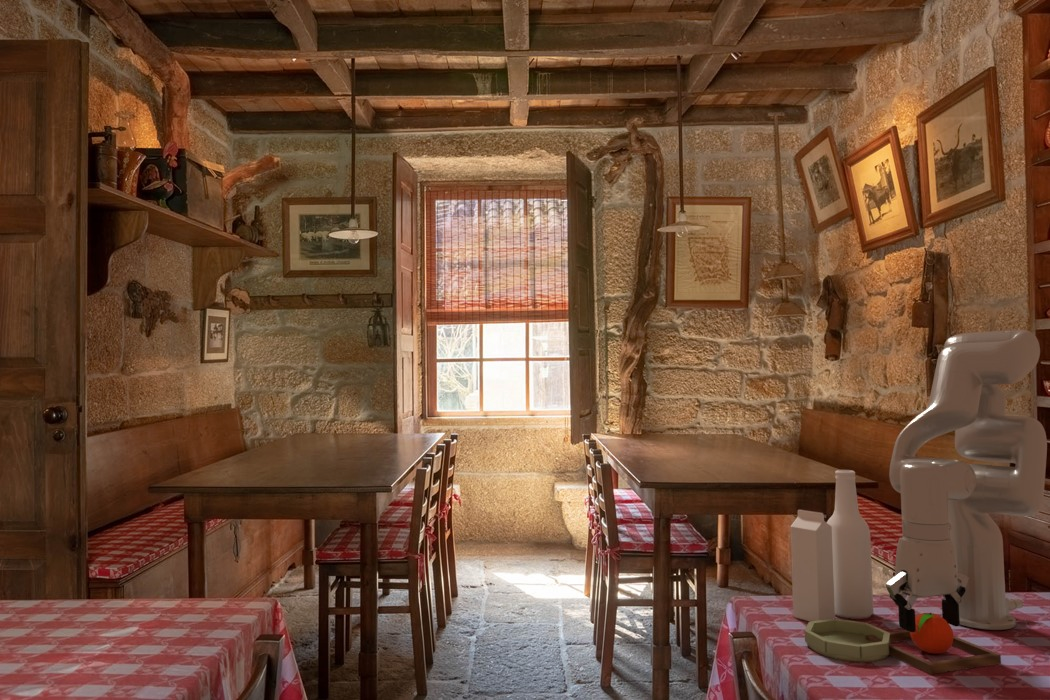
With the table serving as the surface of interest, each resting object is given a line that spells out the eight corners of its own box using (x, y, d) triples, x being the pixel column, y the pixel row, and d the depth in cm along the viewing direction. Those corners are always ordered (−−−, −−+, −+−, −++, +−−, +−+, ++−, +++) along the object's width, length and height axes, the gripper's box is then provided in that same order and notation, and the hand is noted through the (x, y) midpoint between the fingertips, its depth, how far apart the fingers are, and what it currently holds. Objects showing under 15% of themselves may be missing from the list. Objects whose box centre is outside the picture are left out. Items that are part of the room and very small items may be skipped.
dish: (852, 630, 142) (852, 616, 142) (907, 656, 128) (907, 640, 128) (791, 638, 138) (790, 623, 138) (841, 666, 124) (841, 649, 125)
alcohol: (832, 618, 149) (826, 473, 150) (824, 605, 157) (819, 468, 159) (878, 621, 147) (872, 473, 148) (867, 607, 155) (862, 468, 157)
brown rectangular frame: (930, 634, 139) (930, 626, 139) (1001, 663, 124) (1000, 654, 124) (865, 643, 135) (865, 635, 135) (930, 674, 120) (930, 665, 120)
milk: (819, 624, 146) (815, 515, 146) (792, 617, 150) (788, 511, 151) (835, 618, 149) (831, 511, 150) (808, 610, 154) (805, 507, 155)
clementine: (940, 664, 124) (938, 623, 125) (900, 652, 130) (898, 613, 130) (961, 653, 129) (959, 613, 129) (921, 642, 135) (919, 604, 135)
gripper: (946, 524, 136) (950, 615, 136) (870, 530, 132) (874, 625, 131) (981, 531, 129) (985, 628, 128) (902, 538, 125) (906, 639, 124)
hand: (929, 626), depth 130 cm, fingers open, 9 cm apart
